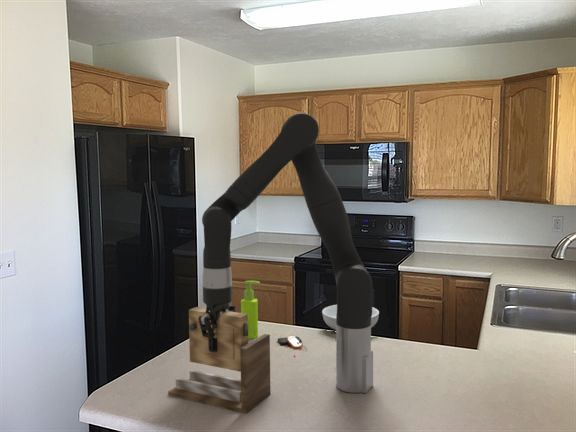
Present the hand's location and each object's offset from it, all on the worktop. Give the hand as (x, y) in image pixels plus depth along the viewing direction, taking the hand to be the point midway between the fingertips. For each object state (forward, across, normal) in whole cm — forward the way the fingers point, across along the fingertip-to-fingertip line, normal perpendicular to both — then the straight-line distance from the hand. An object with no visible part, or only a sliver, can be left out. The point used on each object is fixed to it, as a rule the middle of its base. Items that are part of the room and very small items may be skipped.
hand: (218, 348), depth 134 cm
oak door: (+4, 0, 0) cm, 4 cm away
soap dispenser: (+13, +45, +17) cm, 50 cm away
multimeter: (+13, +41, -4) cm, 44 cm away
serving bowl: (+12, +68, -12) cm, 70 cm away
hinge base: (+12, 0, 0) cm, 12 cm away
